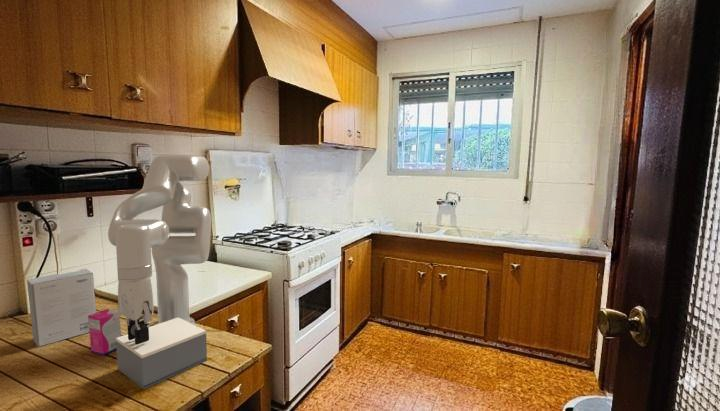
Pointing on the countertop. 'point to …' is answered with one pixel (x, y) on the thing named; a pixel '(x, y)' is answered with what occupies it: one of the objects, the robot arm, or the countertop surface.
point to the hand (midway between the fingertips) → (138, 339)
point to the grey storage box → (161, 361)
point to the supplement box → (104, 331)
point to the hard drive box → (61, 305)
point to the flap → (162, 337)
